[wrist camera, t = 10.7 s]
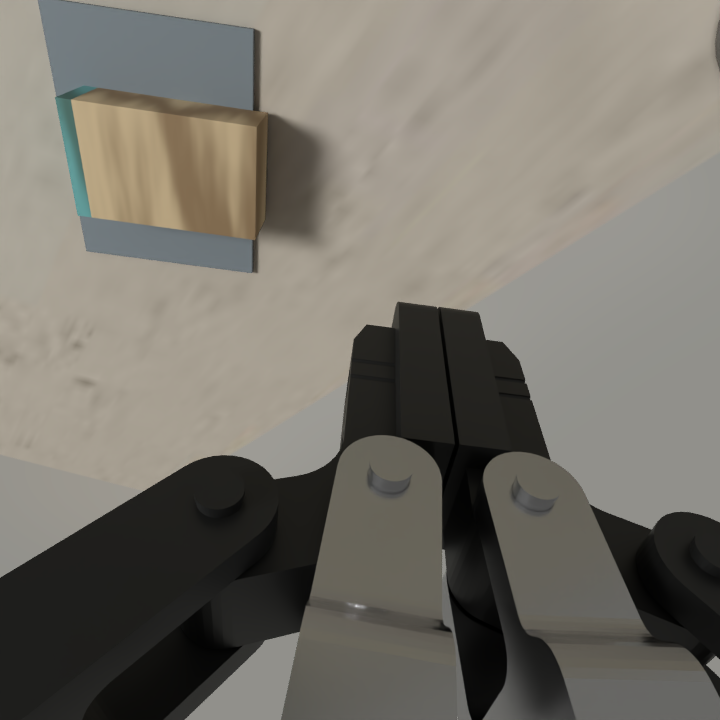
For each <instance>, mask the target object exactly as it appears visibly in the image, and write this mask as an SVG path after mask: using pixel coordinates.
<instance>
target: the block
mask: <svg viewBox="0 0 720 720" xmlns="http://www.w3.org/2000/svg"><path fill="white" fill-rule="evenodd" d="M55 99H56V104H57V109H58V115H59V120H60V125H61V130H62V136H63V141H64V146H65V151H66V156H67V162H68V167H69V172H70V177H71V182H72V188H73V193H74V198H75V203H76V209H77V214H78V216H85V217H92V218H99V219H107V220H114V221H121V222H128V223H135V224H143V225H150V226H157V227H164V228H171V229H179V230H186V231H193V232H200V233H207V234H215V235H222V236H229V237H236V238H243V239H251V240H255V239H256V237H257V235H258V233H259V231H260V229H261V227H262V225H263V223H264V221H265V210H266V169H267V128H268V113H266V112H259V111H252V110H245V109H239V108H232V107H225V106H218V105H212V104H205V103H198V102H191V101H185V100H178V99H171V98H164V97H158V96H151V95H144V94H137V93H131V92H124V91H117V90H110V89H104V88H97V87H90V86H81V87H79V88H76V89H74V90H71V91H69V92H67V93H64V94H62V95H59V96H57V97H55Z"/></svg>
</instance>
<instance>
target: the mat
mask: <svg viewBox="0 0 720 720" xmlns="http://www.w3.org/2000/svg"><path fill="white" fill-rule="evenodd" d="M38 4H39V9H40V14H41V19H42V24H43V29H44V35H45V40H46V45H47V50H48V55H49V60H50V66H51V71H52V76H53V81H54V86H55V91H56V96H59V95H62V94H64V93H67V92H69V91H71V90H74V89H76V88H79V87H81V86H90V87H97V88H104V89H110V90H117V91H124V92H131V93H137V94H144V95H151V96H158V97H164V98H171V99H178V100H185V101H191V102H198V103H205V104H212V105H218V106H225V107H232V108H239V109H245V110H252V111H254V29H253V28H246V27H239V26H233V25H226V24H219V23H212V22H206V21H199V20H192V19H186V18H179V17H172V16H165V15H159V14H152V13H145V12H138V11H132V10H125V9H118V8H112V7H105V6H98V5H91V4H85V3H78V2H71V1H65V0H38ZM80 220H81V225H82V230H83V235H84V241H85V246H86V251H89V252H97V253H104V254H112V255H119V256H127V257H134V258H142V259H149V260H157V261H164V262H172V263H180V264H187V265H195V266H202V267H210V268H217V269H225V270H232V271H240V272H247V273H252V272H253V240H251V239H243V238H236V237H229V236H222V235H215V234H207V233H200V232H193V231H186V230H179V229H171V228H164V227H157V226H150V225H143V224H135V223H128V222H121V221H114V220H107V219H99V218H92V217H85V216H80Z"/></svg>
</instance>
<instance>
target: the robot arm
mask: <svg viewBox="0 0 720 720" xmlns="http://www.w3.org/2000/svg"><path fill="white" fill-rule="evenodd" d="M715 47H716V59H717V63H718V66H719V70H720V21H719V23H718V28H717V34H716V41H715ZM442 549H444V550H445V556H446V557H445V558H446V568H447V569H446V572H445V574H444V577H443V579H442ZM296 632H300V634H299V638H298V643H297V648H296V652H295V657H294V662H293V666H292V671H291V676H290V681H289V685H288V690H287V694H286V699H285V704H284V708H283V714H282V718H281V720H457V716H458V720H720V678H719V677H718V676H717V675H716V674H715V673H714V672H713V671H712V670H711V669H710V668H709V667H707V666H706V664H707V663H708V662H710V661H711V660H712V659H713V658H714V657H715V656H717V657H718V658H719V659H720V523H719V522H717V521H715V520H713V519H711V518H708V517H705V516H702V515H698V514H694V513H689V512H674V513H671V514H667V515H665V516H663V517H662V518H661V519H660V520H659V521H658V522H657V523H656V525H655V526H654V528H653V529H652V530H651V529H648V528H645V527H643V526H640V525H638V524H635V523H632V522H630V521H627V520H625V519H622V518H619V517H616V516H614V515H611V514H609V513H606V512H604V511H602V510H600V509H597V508H595V507H594V506H592V505H590V504H589V502H588V500H587V497H586V495H585V493H584V491H583V489H582V488H581V486H580V485H579V483H578V482H577V481H576V479H574V477H573V476H572V475H571V474H570V473H569V472H567V471H566V470H565V469H564V468H562V467H561V466H559V465H558V464H556V463H555V462H553V461H551V460H550V457H549V453H548V450H547V447H546V444H545V441H544V438H543V435H542V431H541V428H540V425H539V422H538V419H537V415H536V412H535V409H534V406H533V403H532V401H531V400H530V393H529V390H528V387H527V384H525V377H524V374H523V371H522V368H521V365H520V362H519V360H518V359H517V358H516V357H515V355H514V354H513V353H512V352H511V351H510V350H509V349H508V347H507V346H506V345H505V344H504V343H503V342H498V341H490V340H486V339H485V335H484V331H483V328H482V323H481V319H480V315H479V313H478V312H472V311H465V310H457V309H450V308H442V307H439V308H438V309H437V307H434V306H426V305H418V304H411V303H403V302H397V305H396V308H395V313H394V318H393V323H392V328H389V327H382V326H374V325H366V326H365V327H364V328H363V329H362V331H361V332H360V333H359V334H358V335H357V336H356V337H355V339H354V342H353V349H352V356H351V363H350V370H349V377H348V384H347V392H346V398H345V406H344V417H343V426H342V435H341V444H340V451H339V452H338V454H337V455H336V457H335V458H333V459H332V461H330V462H329V463H328V464H326V465H325V466H324V467H322V468H320V469H318V470H316V471H313V472H310V473H308V474H304V475H299V476H294V477H287V478H280V479H273V478H272V477H271V475H270V474H269V472H267V471H266V469H265V468H263V467H262V466H260V465H259V464H257V463H255V462H253V461H251V460H249V459H246V458H242V457H237V456H227V455H221V456H212V457H207V458H203V459H200V460H197V461H195V462H192V463H190V464H188V465H187V466H185V467H183V468H181V469H180V470H178V471H176V472H175V473H173V474H171V475H170V476H168V477H166V478H165V479H163V480H161V481H160V482H158V483H157V484H155V485H153V486H152V487H150V488H148V489H147V490H145V491H143V492H142V493H140V494H138V495H137V496H135V497H133V498H132V499H130V500H128V501H127V502H125V503H123V504H122V505H120V506H118V507H117V508H115V509H113V510H112V511H110V512H109V513H107V514H105V515H104V516H102V517H100V518H99V519H97V520H95V521H94V522H92V523H90V524H89V525H87V526H85V527H84V528H82V529H80V530H79V531H77V532H75V533H74V534H72V535H70V536H69V537H67V538H65V539H64V540H62V541H60V542H59V543H57V544H55V545H54V546H52V547H50V548H49V549H47V550H46V551H44V552H42V553H41V554H39V555H37V556H36V557H34V558H32V559H31V560H29V561H27V562H26V563H24V564H22V565H21V566H19V567H17V568H16V569H14V570H12V571H11V572H9V573H7V574H6V575H4V576H3V577H1V578H0V720H184V719H185V718H187V717H188V716H189V715H190V714H191V713H192V712H193V711H194V710H195V709H196V708H197V707H198V706H199V705H200V704H201V703H202V702H203V701H204V700H205V699H206V698H207V697H208V696H210V695H211V694H212V693H213V692H214V691H215V690H216V689H217V688H218V687H219V686H220V685H221V684H222V683H223V682H224V681H225V680H226V679H227V678H228V677H229V676H230V675H232V674H233V673H234V672H235V671H236V670H237V669H238V668H239V667H240V666H241V665H242V664H243V663H244V662H245V661H246V660H247V659H248V658H249V657H250V656H251V655H252V654H253V653H254V652H256V650H257V649H258V648H259V647H260V646H261V645H262V644H263V642H264V641H265V640H267V639H272V638H276V637H280V636H284V635H288V634H292V633H296Z"/></svg>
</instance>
